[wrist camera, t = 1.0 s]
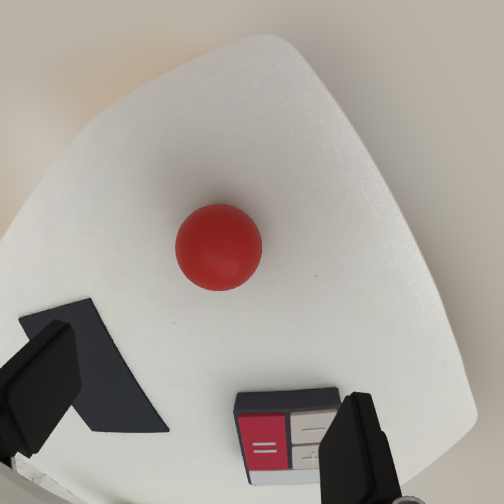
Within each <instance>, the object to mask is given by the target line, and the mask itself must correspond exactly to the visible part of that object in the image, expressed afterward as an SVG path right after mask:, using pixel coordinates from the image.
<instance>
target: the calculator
mask: <svg viewBox="0 0 504 504" xmlns="http://www.w3.org/2000/svg"><path fill="white" fill-rule="evenodd" d="M340 406H341V400H340V395H339V390H338V389H337V388H325V389H314V390H300V391H284V392H258V393H238V394H237V396H236V400H235V405H234V410H233V414H234V419H235V424H236V428H237V433H238V438H239V442H240V447H241V452H242V456H243V460H244V465H245V469H246V474H247V478H248V482H249V484H251V485H298V484H313V483H320V472H319V457H318V448H319V444H320V442H321V440H322V439H323V437H324V435H325V433H326V432H327V430H328V428H329V426H330V425H331V423H332V421H333V419H334V417H335V415H336V414H337V412H338V410H339V408H340Z"/></svg>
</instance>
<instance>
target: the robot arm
mask: <svg viewBox="0 0 504 504" xmlns="http://www.w3.org/2000/svg"><path fill="white" fill-rule="evenodd" d="M81 389H82V380H81V374H80V368H79V361H78V354H77V347H76V338H75V331H74V330H73V329H72V327H71V325H70V324H69V323H67V322H64V321H62V320H59V319H54V320H53V321H51V322H50V323H49V324H48V325H47V326H46V327H45V328H43V329H42V330H41V331H40V332H39V333H38V334H37V335H36V336H35V337H33V338H32V339H31V340H30V341H29V342H28V343H27V344H26V345H25V346H24V347H23V348H21V349H20V350H19V351H18V352H17V353H16V354H15V355H14V356H13V357H12V358H11V359H10V360H9V361H8V362H7V363H6V364H4V365H3V366H2V367H1V368H0V504H73V503H71V502H69V501H67V500H65V499H63V498H61V497H59V496H57V495H55V494H53V493H51V492H49V491H48V490H46V489H44V488H42V487H40V486H39V485H37V484H35V483H34V482H32V481H30V480H29V479H27V478H25V477H24V476H22V475H20V474H19V473H17V468H16V462H15V454H16V453H17V452H19V453H21V454H22V455H24V456H26V457H27V458H29V459H30V457H31V456H32V454H33V453H34V454H36V453H38V452H39V450H40V449H41V447H42V446H43V444H44V443H45V441H46V440H47V439H48V437H49V436H50V434H51V433H52V431H53V430H54V428H55V427H56V426H57V424H58V423H59V421H60V420H61V418H62V417H63V416H64V414H65V413H66V411H67V410H68V409H69V407H70V406H71V404H72V403H73V402H74V400H75V399H76V397H77V396H78V395H79V393H80V392H81ZM318 457H319V472H320V488H321V504H425V503H424V502H423V501H422V500H420V499H419V498H416V497H414V496H404V497H402V494H401V489H400V485H399V481H398V477H397V473H396V469H395V466H394V462H393V458H392V454H391V451H390V447H389V443H388V440H387V437H386V434H385V433H384V432H383V431H381V428H380V424H379V421H378V417H377V414H376V410H375V407H374V403H373V400H372V397H371V395H370V394H369V393H361V392H353V393H352V394H351V395H350V396H349V395H347V396H346V397H345V398H344V400H343V402H342V404H341V406H340V408H339V410H338V412H337V414H336V415H335V417H334V419H333V421H332V423H331V425H330V426H329V428H328V430H327V432H326V433H325V435H324V437H323V439H322V440H321V442H320V444H319V448H318Z"/></svg>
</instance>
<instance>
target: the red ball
mask: <svg viewBox="0 0 504 504" xmlns="http://www.w3.org/2000/svg"><path fill="white" fill-rule="evenodd" d="M175 251H176V258H177V261H178V264H179V266H180V268H181V270H182V272H183V273H184V274H185V276H186V277H187V278H188V279H189V280H190V281H191V282H193V283H194V284H196V285H197V286H199V287H201V288H204V289H207V290H212V291H226V290H230V289H233V288H236V287H238V286H240V285H242V284H243V283H245V282H246V281H247V280H248V279H249V278H250V277H251V276H252V275H253V273H254V272H255V270H256V269H257V267H258V265H259V262H260V259H261V254H262V242H261V236H260V233H259V231H258V228H257V227H256V225H255V223H254V222H253V221H252V219H251V218H250V217H249V216H248V215H247V214H245V213H244V212H243V211H241V210H239V209H237V208H235V207H233V206H229V205H223V204H214V205H208V206H205V207H202V208H200V209H198V210H196V211H195V212H193V213H192V214H191V215H189V216H188V218H187V219H186V220H185V221H184V222H183V224H182V225H181V227H180V229H179V231H178V234H177V238H176V244H175Z"/></svg>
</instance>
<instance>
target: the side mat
mask: <svg viewBox="0 0 504 504" xmlns="http://www.w3.org/2000/svg"><path fill="white" fill-rule="evenodd" d="M54 319H59V320H62V321H64V322H67V323H69V324H70V325H71V327H72V329H73V330H74V331H75V338H76V347H77V354H78V361H79V368H80V374H81V380H82V389H81V392H80V393H79V395H78V396H77V397H76V399H75V400H74V402H73V403H72V404H71V405H72V406H73V407H74V409H75V410H76V411H77V413H78V414H79V415H80V417H81V418H82V419H83V420H84V422H85V423H86V424H87V425H88V427H89V428H90V429H91V430H92V431H96V432H122V433H158V432H169V429H168V427H167V426H166V425H165V423H164V422H163V420H162V419H161V417H160V416H159V415H158V413H157V412H156V410H155V409H154V407H153V406H152V404H151V403H150V401H149V400H148V398H147V397H146V395H145V394H144V392H143V391H142V389H141V388H140V386H139V384H138V383H137V381H136V380H135V378H134V376H133V375H132V373H131V371H130V370H129V368H128V367H127V365H126V363H125V361H124V360H123V358H122V356H121V355H120V353H119V351H118V349H117V348H116V346H115V344H114V342H113V340H112V339H111V337H110V335H109V333H108V331H107V329H106V328H105V326H104V324H103V322H102V320H101V318H100V316H99V314H98V312H97V310H96V308H95V306H94V304H93V302H92V300H91V298H89V299H85V300H82V301H78V302H75V303H71V304H67V305H64V306H60V307H57V308H53V309H50V310H46V311H42V312H39V313H35V314H32V315H28V316H25V317H21V318H19V319H18V320H19V322H20V324H21V326H22V328H23V329H24V331H25V333H26V335H27V337H28V338H29V340H31V339H32V338H33V337H35V336H36V335H37V334H38V333H39V332H40V331H41V330H42V329H43V328H45V327H46V326H47V325H48V324H49V323H50V322H51V321H53V320H54Z"/></svg>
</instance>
